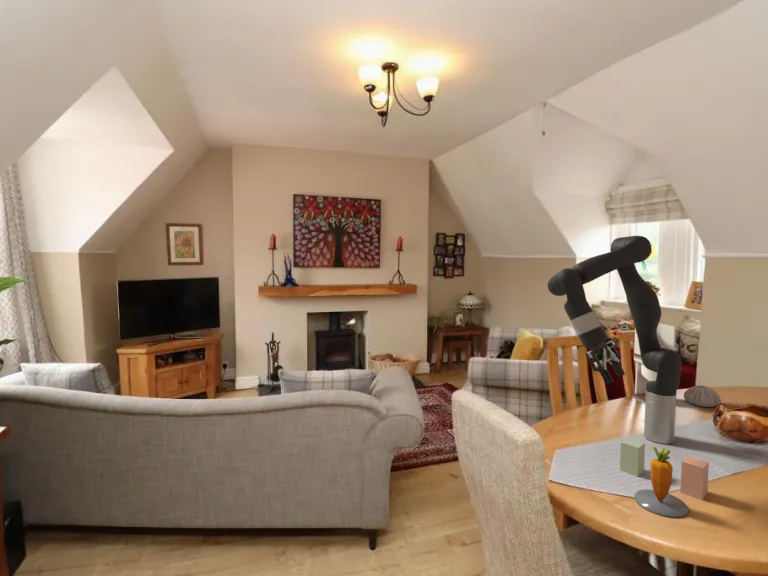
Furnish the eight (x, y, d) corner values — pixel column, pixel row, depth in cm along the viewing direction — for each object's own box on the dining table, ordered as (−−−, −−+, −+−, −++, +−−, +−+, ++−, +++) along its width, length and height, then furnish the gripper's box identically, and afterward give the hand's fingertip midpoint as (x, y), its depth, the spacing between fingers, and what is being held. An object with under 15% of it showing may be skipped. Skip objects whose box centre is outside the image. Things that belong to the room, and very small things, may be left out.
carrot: (644, 496, 116) (646, 443, 115) (661, 495, 117) (663, 442, 115) (658, 507, 111) (660, 452, 110) (675, 506, 112) (678, 451, 110)
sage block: (626, 465, 135) (627, 437, 134) (643, 471, 131) (645, 443, 130) (619, 470, 132) (620, 442, 131) (637, 476, 128) (638, 447, 127)
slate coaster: (644, 486, 122) (644, 484, 122) (694, 505, 113) (694, 503, 113) (627, 502, 115) (627, 500, 115) (679, 523, 105) (679, 521, 105)
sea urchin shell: (688, 407, 185) (689, 389, 184) (679, 397, 198) (680, 380, 197) (725, 410, 180) (726, 392, 180) (713, 400, 193) (714, 383, 192)
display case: (632, 397, 197) (635, 323, 194) (653, 396, 198) (656, 322, 196) (650, 406, 186) (653, 327, 183) (672, 405, 187) (676, 326, 184)
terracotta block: (686, 486, 122) (687, 456, 122) (707, 493, 118) (708, 462, 118) (680, 492, 119) (681, 461, 118) (701, 500, 115) (703, 468, 115)
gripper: (589, 329, 124) (617, 381, 120) (609, 321, 133) (637, 369, 129) (567, 338, 130) (594, 389, 125) (588, 329, 139) (614, 376, 134)
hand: (615, 379), depth 127 cm, fingers open, 8 cm apart
